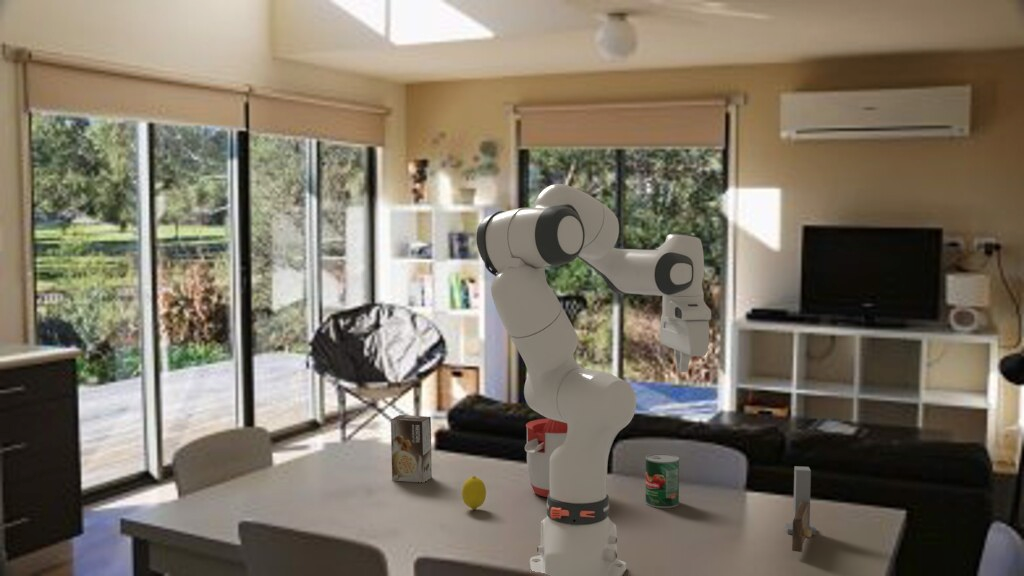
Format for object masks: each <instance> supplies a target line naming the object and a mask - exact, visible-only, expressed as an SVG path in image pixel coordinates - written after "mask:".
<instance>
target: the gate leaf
mask: <svg viewBox="0 0 1024 576" xmlns="http://www.w3.org/2000/svg"><path fill="white" fill-rule="evenodd" d="M808 509H809V503H806V502H800V504H799V507H798V509H797V512H796V515H795V517H794V520H793V519H792V524H793V534H791V535H792V540H791V541H792V542H791V543H792V545H791V548H792V549H791V551H792V552H798V553H802V552H803V545H804V543H805V539H806V538H812V535H811V530H808Z"/></svg>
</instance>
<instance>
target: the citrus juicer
mask: <svg viewBox="0 0 1024 576" xmlns="http://www.w3.org/2000/svg"><path fill="white" fill-rule="evenodd" d="M525 427H526V444H525V445H524V451H525V452H526V465H527V466H526V467H527V473H528V477H529V480H530V485H531V489H532V491H533V492H534V493H535V495H538V496H540V497H543V498H544V497H545V498H548V494H549V493H550V457H551V454H552V453H553V451H554V450H555V449H556V448H558V447H559V446H561V445H563V444H564V441H565V439H566V435H567V430H568V425H567V423H564V422H560V421H556V420H552V419H548V418H541V419H540V418H539V419H534V420H530V421H528V422H527V423H526V424H525Z"/></svg>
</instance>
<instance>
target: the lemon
mask: <svg viewBox="0 0 1024 576" xmlns="http://www.w3.org/2000/svg"><path fill="white" fill-rule="evenodd" d="M486 490H487V489H486V485H485V483H484V481H483V480H482V479H481V478H479V477H477V476H476V475H472V476H471V477H469V478H467V479H466V480H465V481H464V483H463V485H462V489H461V497H462V501H463V503H464V504H465V506H467V507H469V508H470V509H471V510H472V511H473V510H474V511H475V510H477V508H479V507H481V506H483V504H484V502H485V500H486V496H487V491H486Z"/></svg>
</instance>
